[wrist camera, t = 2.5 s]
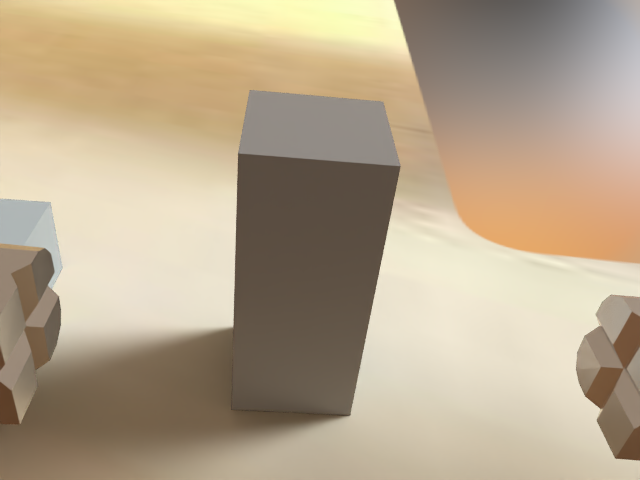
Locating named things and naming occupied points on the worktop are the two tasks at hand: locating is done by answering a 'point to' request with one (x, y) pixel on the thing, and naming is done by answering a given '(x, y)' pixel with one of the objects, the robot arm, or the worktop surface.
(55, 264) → the painted riser
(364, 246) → the tall taupe square pillar
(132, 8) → the worktop surface
